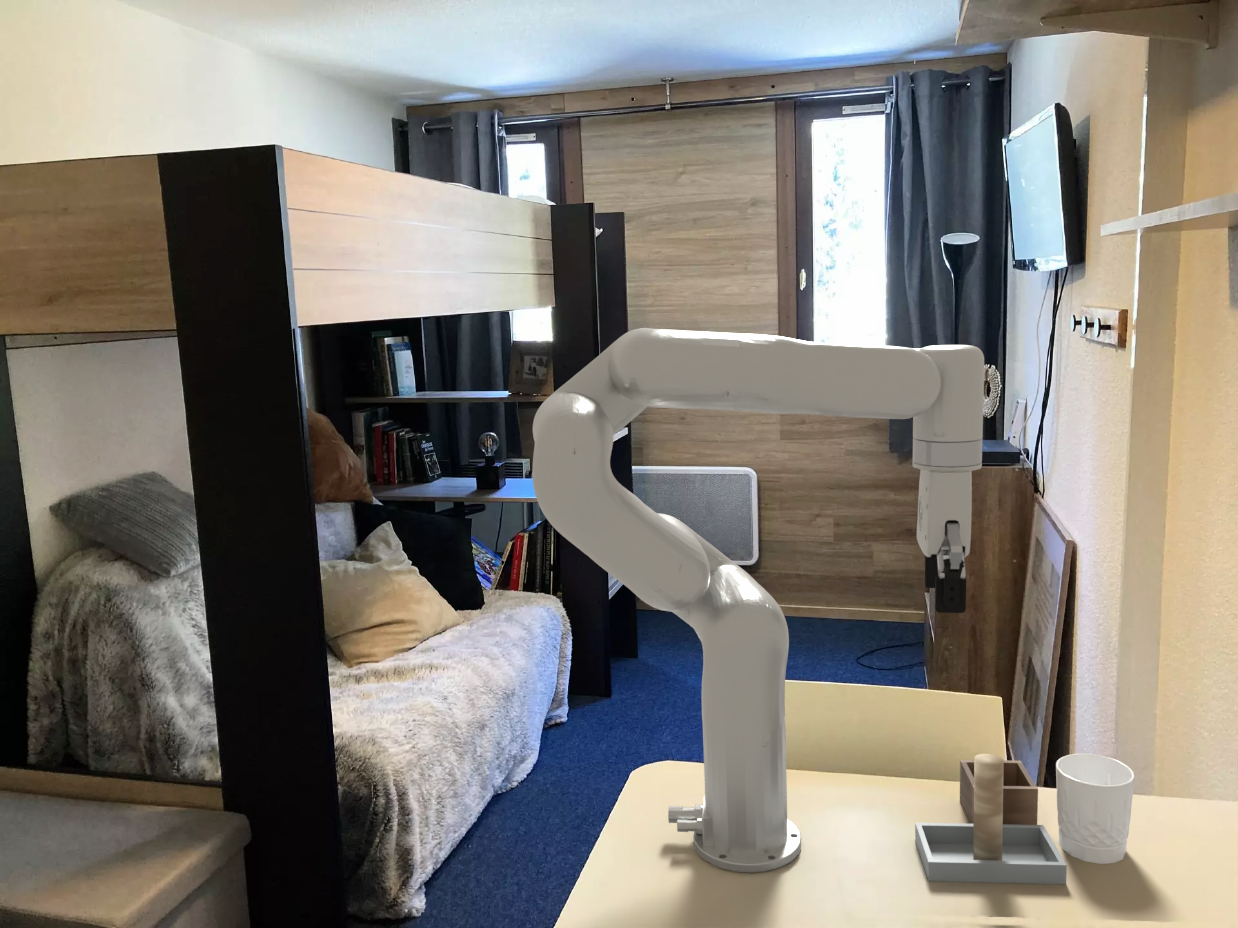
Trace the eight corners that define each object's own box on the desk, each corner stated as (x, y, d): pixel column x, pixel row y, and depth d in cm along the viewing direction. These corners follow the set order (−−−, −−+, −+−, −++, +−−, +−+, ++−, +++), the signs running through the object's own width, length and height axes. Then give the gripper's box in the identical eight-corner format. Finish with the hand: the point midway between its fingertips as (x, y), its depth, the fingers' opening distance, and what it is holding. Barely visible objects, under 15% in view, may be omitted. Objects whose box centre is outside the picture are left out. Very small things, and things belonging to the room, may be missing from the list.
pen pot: (973, 835, 116) (973, 787, 115) (959, 804, 123) (960, 759, 122) (1036, 836, 115) (1037, 788, 115) (1019, 805, 123) (1020, 760, 122)
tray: (928, 885, 107) (928, 861, 107) (915, 844, 115) (915, 822, 115) (1066, 889, 105) (1066, 864, 105) (1042, 847, 113) (1043, 824, 113)
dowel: (976, 868, 109) (978, 765, 107) (970, 853, 112) (971, 753, 110) (1005, 868, 108) (1006, 766, 106) (998, 853, 111) (999, 753, 109)
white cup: (1140, 873, 107) (1144, 787, 106) (1062, 868, 109) (1065, 783, 107) (1119, 835, 115) (1122, 754, 113) (1047, 831, 117) (1049, 751, 115)
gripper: (905, 443, 122) (903, 578, 124) (921, 466, 105) (919, 621, 108) (969, 443, 120) (966, 579, 123) (996, 466, 104) (991, 623, 106)
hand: (944, 599), depth 115 cm, fingers open, 9 cm apart
